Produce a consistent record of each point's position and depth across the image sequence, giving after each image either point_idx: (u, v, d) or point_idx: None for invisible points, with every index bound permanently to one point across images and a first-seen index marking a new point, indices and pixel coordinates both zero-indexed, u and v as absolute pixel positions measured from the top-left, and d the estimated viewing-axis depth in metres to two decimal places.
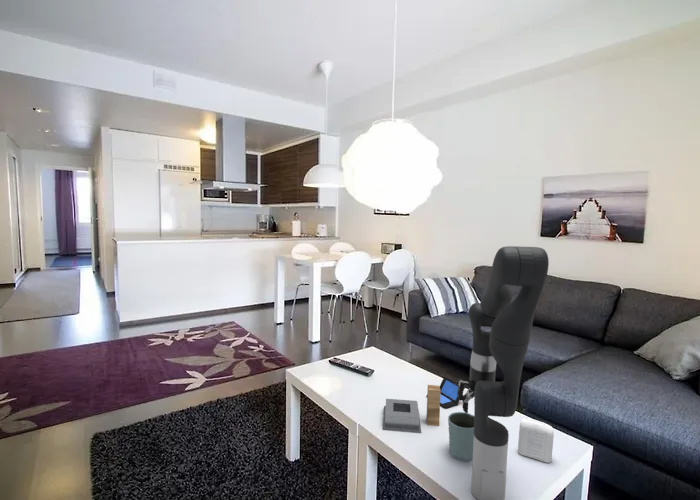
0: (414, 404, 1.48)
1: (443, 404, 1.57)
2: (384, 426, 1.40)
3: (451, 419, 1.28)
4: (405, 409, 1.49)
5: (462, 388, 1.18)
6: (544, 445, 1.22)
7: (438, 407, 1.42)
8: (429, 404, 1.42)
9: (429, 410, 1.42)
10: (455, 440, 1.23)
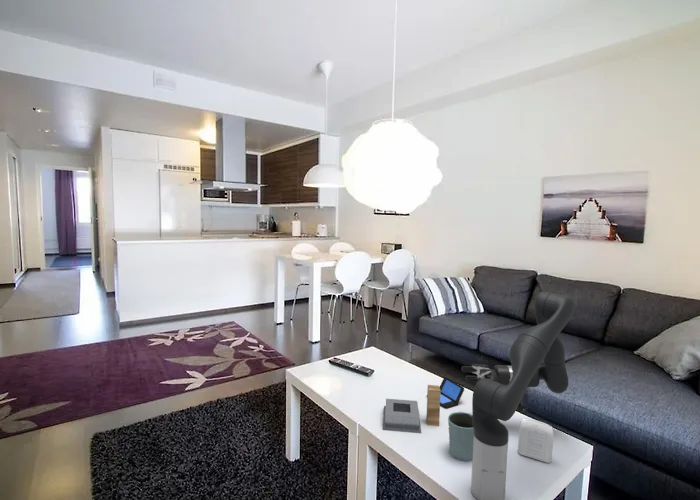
0: (414, 404, 1.48)
1: (443, 404, 1.57)
2: (384, 426, 1.40)
3: (451, 419, 1.28)
4: (405, 409, 1.49)
5: (483, 365, 1.47)
6: (544, 445, 1.22)
7: (438, 407, 1.42)
8: (429, 404, 1.42)
9: (429, 410, 1.42)
10: (455, 440, 1.23)
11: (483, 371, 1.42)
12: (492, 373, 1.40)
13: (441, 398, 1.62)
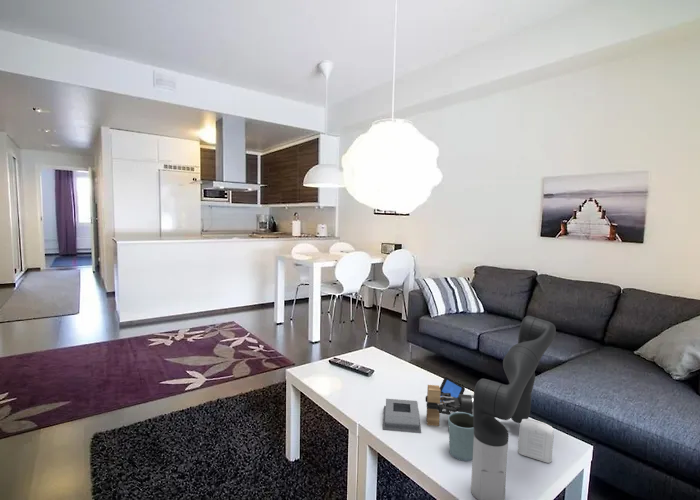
0: (414, 404, 1.48)
1: None
2: (384, 426, 1.40)
3: (451, 419, 1.28)
4: (405, 409, 1.49)
5: (446, 394, 1.49)
6: (544, 446, 1.22)
7: None
8: None
9: (429, 410, 1.42)
10: (455, 440, 1.23)
11: (448, 401, 1.43)
12: (456, 402, 1.42)
13: None
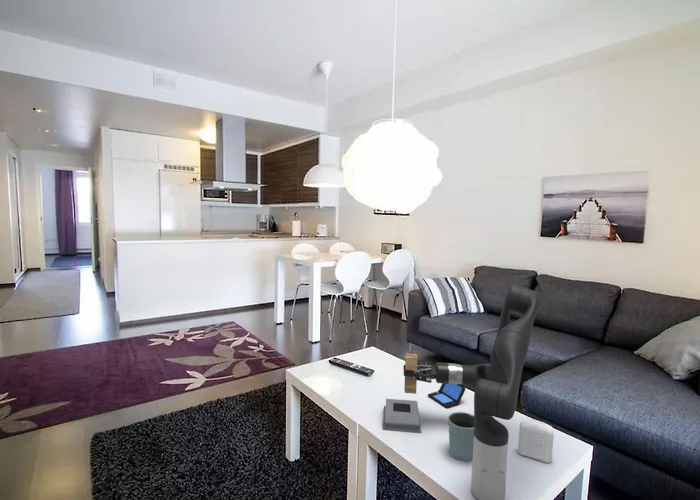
0: (414, 404, 1.48)
1: (445, 404, 1.58)
2: (384, 426, 1.40)
3: (451, 419, 1.28)
4: (405, 409, 1.49)
5: (425, 363, 1.49)
6: (544, 445, 1.22)
7: None
8: None
9: (406, 378, 1.43)
10: (455, 440, 1.23)
11: (426, 369, 1.44)
12: (433, 370, 1.42)
13: (442, 398, 1.63)
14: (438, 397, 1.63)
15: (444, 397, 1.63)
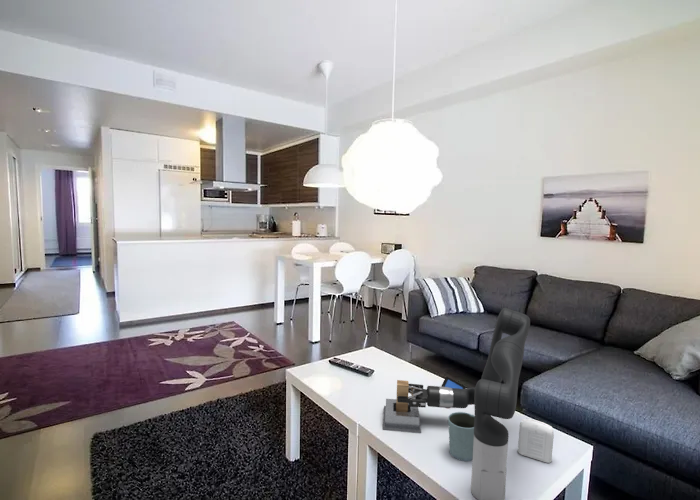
0: None
1: None
2: (384, 426, 1.40)
3: (451, 419, 1.28)
4: None
5: (418, 385, 1.51)
6: (544, 445, 1.22)
7: None
8: None
9: (397, 405, 1.44)
10: (455, 440, 1.23)
11: (416, 391, 1.45)
12: (424, 394, 1.43)
13: None
14: None
15: None
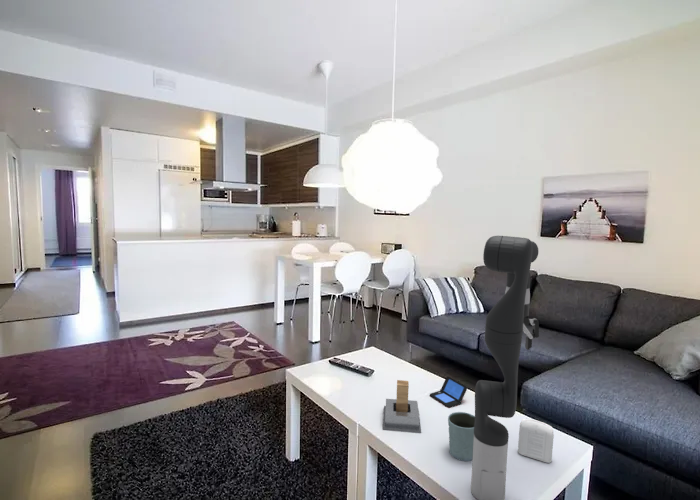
0: (414, 404, 1.48)
1: (446, 403, 1.58)
2: (384, 426, 1.40)
3: (451, 419, 1.28)
4: None
5: None
6: (544, 445, 1.22)
7: (406, 402, 1.43)
8: (397, 399, 1.44)
9: (397, 405, 1.44)
10: (455, 440, 1.23)
11: None
12: None
13: (444, 397, 1.63)
14: (440, 397, 1.63)
15: (446, 397, 1.64)
